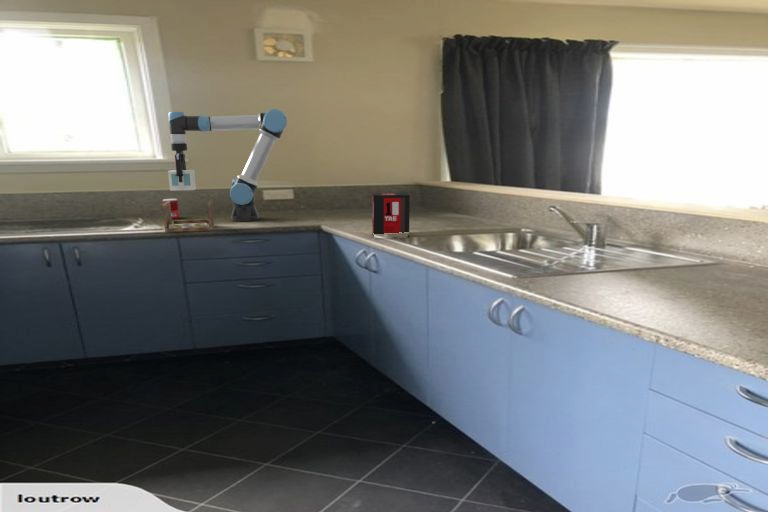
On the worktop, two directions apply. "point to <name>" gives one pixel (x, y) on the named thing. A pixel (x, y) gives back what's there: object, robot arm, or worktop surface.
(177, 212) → the canned food
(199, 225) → the facing shelf
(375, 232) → the cleaning product box
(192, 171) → the product carton
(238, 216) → the robot arm
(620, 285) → the worktop surface
